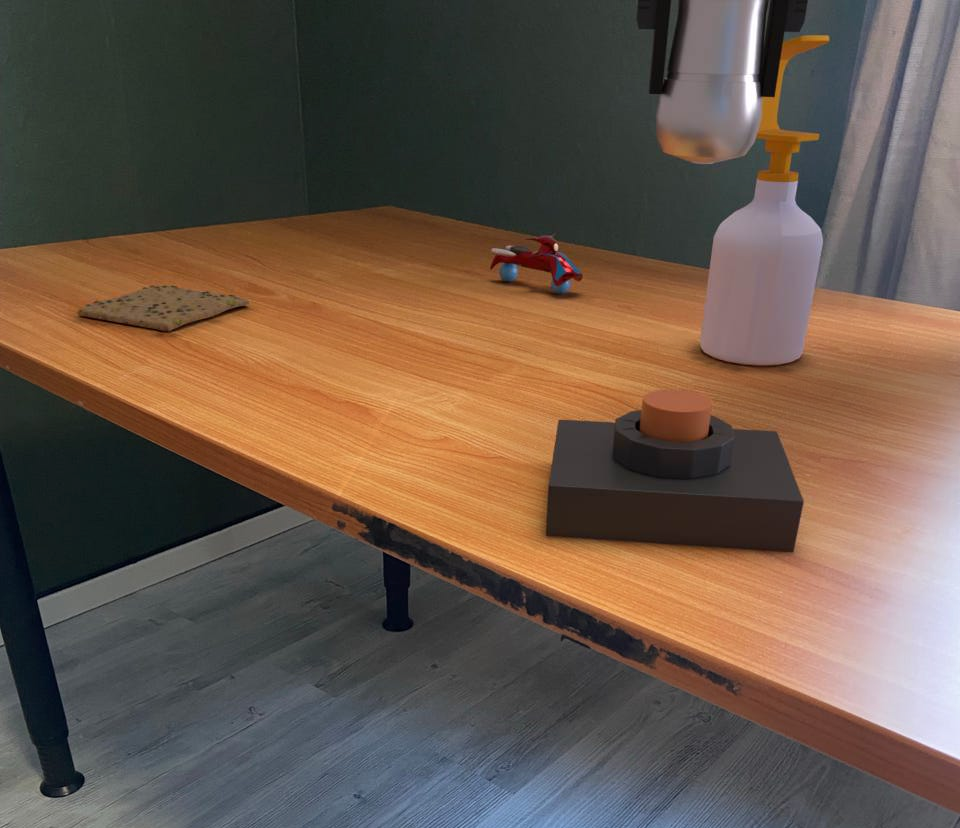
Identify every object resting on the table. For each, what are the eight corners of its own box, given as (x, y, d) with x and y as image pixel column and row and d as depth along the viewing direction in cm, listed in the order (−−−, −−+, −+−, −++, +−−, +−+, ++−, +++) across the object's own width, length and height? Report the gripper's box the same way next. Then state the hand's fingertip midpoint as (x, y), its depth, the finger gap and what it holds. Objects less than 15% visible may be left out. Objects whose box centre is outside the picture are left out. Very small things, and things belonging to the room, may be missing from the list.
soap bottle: (760, 373, 84) (816, 36, 71) (678, 349, 90) (716, 33, 77) (822, 355, 89) (885, 36, 76) (740, 333, 95) (786, 34, 82)
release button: (705, 424, 60) (709, 390, 59) (710, 447, 57) (715, 413, 56) (638, 420, 61) (642, 387, 59) (639, 444, 57) (643, 409, 56)
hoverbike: (561, 301, 105) (564, 245, 102) (481, 282, 112) (482, 229, 109) (592, 293, 108) (596, 239, 105) (512, 275, 115) (514, 224, 112)
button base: (769, 477, 65) (782, 403, 62) (793, 553, 56) (810, 469, 53) (555, 465, 66) (560, 391, 64) (545, 536, 57) (550, 454, 55)
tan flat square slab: (74, 315, 97) (72, 304, 96) (162, 290, 106) (161, 281, 106) (168, 331, 92) (166, 321, 92) (251, 304, 101) (250, 294, 101)
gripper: (579, -462, 47) (553, 94, 59) (998, -473, 45) (881, 102, 57) (584, -405, 53) (559, 87, 66) (952, -413, 52) (855, 94, 64)
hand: (710, 93), depth 62 cm, fingers closed on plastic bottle, 6 cm apart
